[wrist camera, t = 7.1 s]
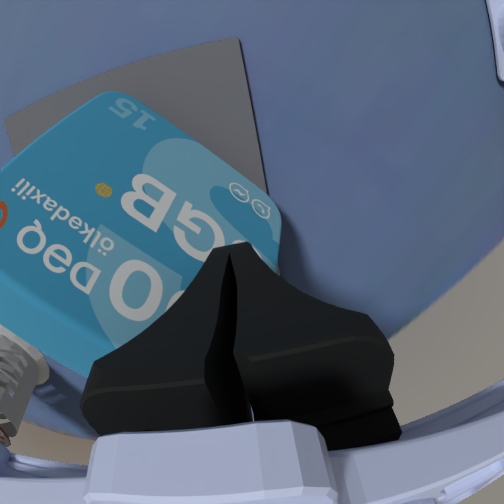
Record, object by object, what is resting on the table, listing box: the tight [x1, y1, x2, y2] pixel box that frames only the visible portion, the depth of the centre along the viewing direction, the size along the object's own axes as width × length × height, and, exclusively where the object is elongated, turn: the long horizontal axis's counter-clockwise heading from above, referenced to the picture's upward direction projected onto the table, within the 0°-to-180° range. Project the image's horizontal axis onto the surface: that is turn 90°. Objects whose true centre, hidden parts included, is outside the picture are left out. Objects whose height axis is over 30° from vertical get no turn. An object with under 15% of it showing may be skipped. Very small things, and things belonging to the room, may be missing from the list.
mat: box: [4, 37, 280, 276], centre depth 20 cm, size 16×18×1 cm
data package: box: [0, 91, 282, 378], centre depth 14 cm, size 12×4×12 cm, turn 50°
